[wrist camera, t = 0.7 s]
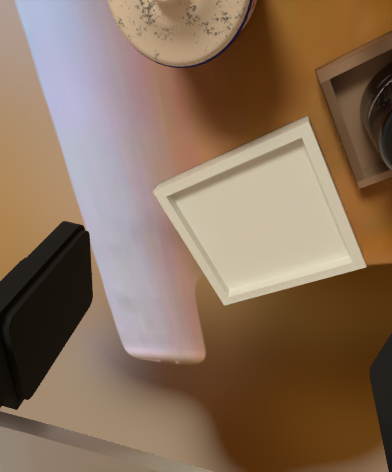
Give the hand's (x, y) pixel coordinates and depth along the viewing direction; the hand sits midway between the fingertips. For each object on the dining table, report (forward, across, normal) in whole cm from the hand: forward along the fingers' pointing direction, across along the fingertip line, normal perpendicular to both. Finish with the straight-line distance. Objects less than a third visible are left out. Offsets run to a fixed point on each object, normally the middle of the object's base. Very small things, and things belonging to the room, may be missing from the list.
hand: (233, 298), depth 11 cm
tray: (+26, -2, +12) cm, 29 cm away
